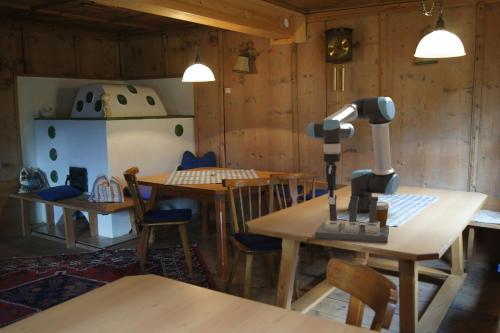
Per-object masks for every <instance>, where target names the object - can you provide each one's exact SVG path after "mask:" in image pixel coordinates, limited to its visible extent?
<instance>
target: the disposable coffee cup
mask: <svg viewBox="0 0 500 333" xmlns="http://www.w3.org/2000/svg"><path fill="white" fill-rule="evenodd" d="M369 207H370V206H369ZM389 208H390V205H389V203H388V202H385V201H377V213H376V221H379V222H380V226H387V221H388V212H389Z"/></svg>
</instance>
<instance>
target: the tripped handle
mask: <svg viewBox="0 0 500 333" xmlns="http://www.w3.org/2000/svg"><path fill="white" fill-rule="evenodd" d="M337 197H338V196H337V194H335V204H328V206H329V207H328V209H329V219H330V221H337V219H338V213H337V210H338V209H337V199H338V198H337Z"/></svg>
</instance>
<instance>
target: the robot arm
mask: <svg viewBox="0 0 500 333" xmlns="http://www.w3.org/2000/svg"><path fill="white" fill-rule="evenodd" d="M394 103H395V102H394V101H393V100H392V99H391V98H390V97H388V96H387V97H386V96H372V97H371V96H370V97H360V98H356V99H354V100H352V101H350V102H348V103H346V104H344V105H343V106H342V107H341V109H339V110H338V111H335V112H334V113H332V114H331V115H329V116H327V117H325V118H323V119H322V120H320V121H319V122H311V123H309V124H308V125H307V127H306V134H307V136H308V137H309V138H311V139H323V145H322V146H321V148H323V162H326V163H328V165H327V166H326V174H327V176H326V178H327V188H326V190H327V191H328V193H327V194H328V195H327V200H328V205H329V204H335V195H336V190H337V187H336V183H337V182H336V181H337V179H336V178H337V167H338V166H337V164H336V163H339V162H340V161H341V153H340V152H341V140H347V139H350V138H352V137H353V136H354V134H355V128H354V126H353V125H352V124H351V123H349V122H353V121H356V120H368V125H370V126H371V130H372V132H371V133H372V144H373V147H372V148H373V157H374V158H373V159H374V169H373V170H372V169H370V168H369V169H359V170H355V171H352V172H351V176H350V196H359V201H358V204H357V214H358V213H361V214H362V213H363V214H364V213H367V214H368V213H370V207H369V206H370V197H373V194H377V195H378V194H379V195H384V196H393V195H394V194H396V192H397V191H398V189H399V185H400V176H399V174H397V173H395V172H396V171H395V169H394V168H393V167H392V159H391V156H392V155H391V142H390V129H389V125H390V124H391V122H392V120H393V119H394V118H395V113H396V107H395V104H394ZM348 202H349V203H348V204H347V211H349V212H350V206H351V200H350V199H349V201H348Z"/></svg>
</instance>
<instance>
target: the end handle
mask: <svg viewBox="0 0 500 333" xmlns="http://www.w3.org/2000/svg"><path fill="white" fill-rule="evenodd" d="M377 202H379V196H372V197H370V212H369V214H368V215H369V216H368V221H369V223H376V213H377Z"/></svg>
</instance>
